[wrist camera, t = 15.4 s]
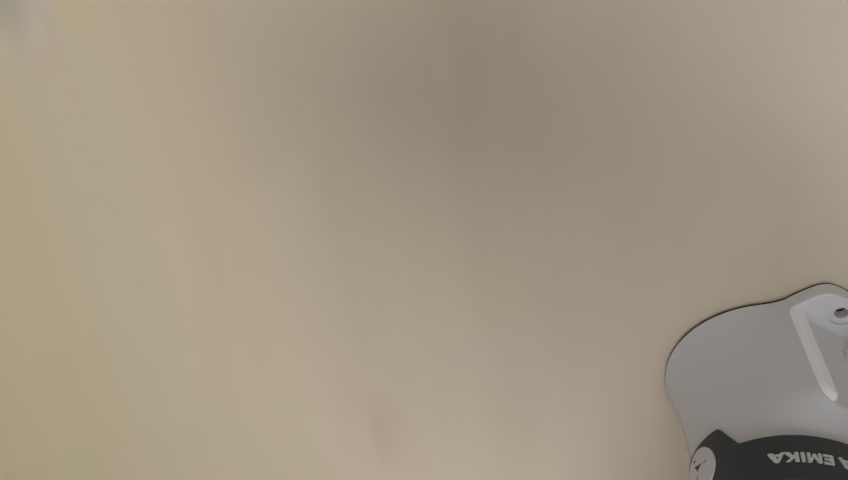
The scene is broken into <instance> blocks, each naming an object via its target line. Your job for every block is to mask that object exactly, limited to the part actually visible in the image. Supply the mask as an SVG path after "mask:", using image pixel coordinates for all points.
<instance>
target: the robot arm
mask: <svg viewBox="0 0 848 480" xmlns="http://www.w3.org/2000/svg"><path fill="white" fill-rule="evenodd" d="M839 308H845V309H844V310H842V311H836V310H837V309H839ZM665 385H666V390H667V394H668V397H669V399H670V401H671V403H672V405H673V407H674V409H675V411H676V413H677V415H678V418H679V420H680V423H681V426H682V429H683V432H684V436H685V439H686V443H687V447H688V451H689V455H690V460H691V462H690V473H689V480H848V291H846V290H844V289H842V288H840V287H838V286H835V285H831V284H821V285H817V286H814V287H811V288H808V289H806V290H803V291H801V292H799V293H797V294H795V295H793V296H791V297H789V298H787V299H785V300H782V301H778V302H774V303H769V304H762V305H755V306H749V307H744V308H740V309H736V310H732V311H729V312H726V313H723V314H721V315H718V316H716V317H714V318H712V319H710V320H708V321H706V322H704V323H702V324H701V325H699V326H698V327H696V328H695V329H693V330H692V331H691V332H690V333H688V334H687V335H686V336H685V337H684V338H683V339H682V340H681V341H680V343H679V344H678V345H677V346H676V348H675V349H674V351H673V352H672V354H671V356H670V358H669V361H668V364H667V367H666V372H665Z"/></svg>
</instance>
